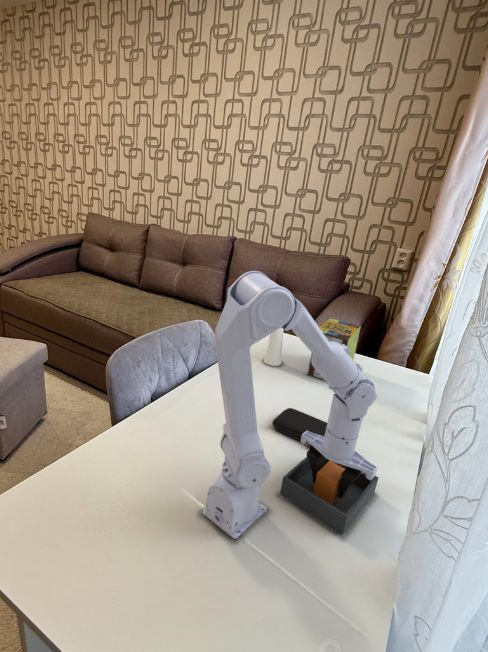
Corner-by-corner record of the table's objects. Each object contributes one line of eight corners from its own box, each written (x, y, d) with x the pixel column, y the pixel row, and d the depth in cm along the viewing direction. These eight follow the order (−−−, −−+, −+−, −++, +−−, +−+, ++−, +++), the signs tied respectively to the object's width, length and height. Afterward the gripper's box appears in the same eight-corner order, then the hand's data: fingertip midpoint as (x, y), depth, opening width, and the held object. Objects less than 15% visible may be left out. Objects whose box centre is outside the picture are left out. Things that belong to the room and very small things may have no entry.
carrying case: (266, 431, 96) (322, 458, 89) (267, 421, 95) (325, 447, 88) (286, 413, 105) (339, 436, 97) (287, 403, 103) (342, 426, 96)
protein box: (351, 367, 133) (361, 325, 128) (339, 385, 121) (349, 339, 115) (321, 359, 138) (329, 317, 132) (306, 375, 126) (314, 330, 120)
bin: (341, 536, 69) (346, 517, 68) (279, 495, 77) (282, 477, 76) (373, 494, 79) (378, 477, 78) (315, 462, 87) (319, 445, 86)
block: (330, 505, 75) (336, 483, 73) (312, 494, 78) (317, 472, 76) (342, 492, 79) (348, 470, 77) (324, 481, 81) (329, 460, 79)
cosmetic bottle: (262, 364, 131) (271, 300, 122) (264, 356, 136) (272, 295, 128) (281, 367, 130) (290, 303, 121) (282, 359, 135) (291, 298, 127)
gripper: (389, 439, 71) (372, 497, 76) (318, 406, 80) (307, 460, 85) (374, 457, 66) (357, 517, 71) (299, 419, 75) (289, 475, 80)
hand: (329, 487), depth 78 cm, fingers open, 5 cm apart
